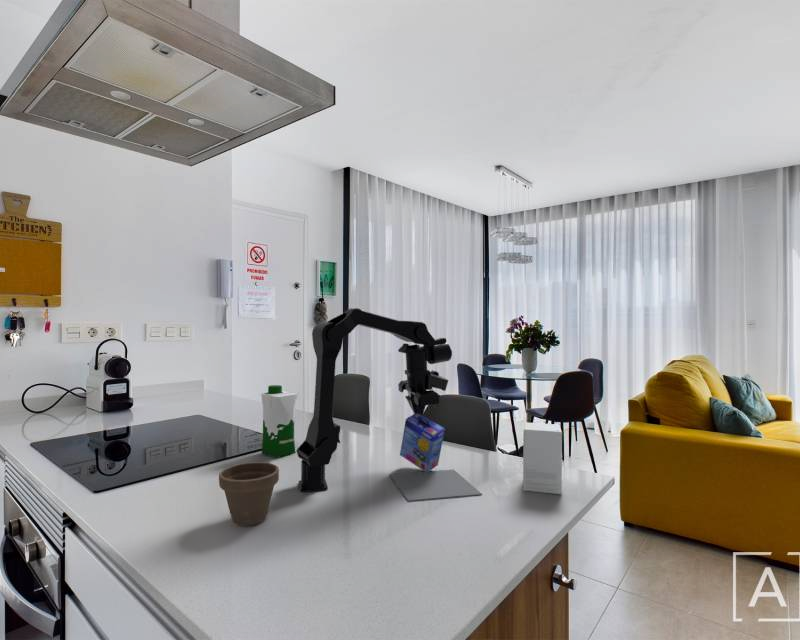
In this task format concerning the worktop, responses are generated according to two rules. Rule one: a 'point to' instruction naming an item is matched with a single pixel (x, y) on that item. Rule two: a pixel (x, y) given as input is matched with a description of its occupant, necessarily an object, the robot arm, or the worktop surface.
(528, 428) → the supplement box
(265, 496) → the flower pot
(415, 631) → the worktop surface
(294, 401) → the milk carton
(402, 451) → the ink cartridge box
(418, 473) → the charcoal mat
